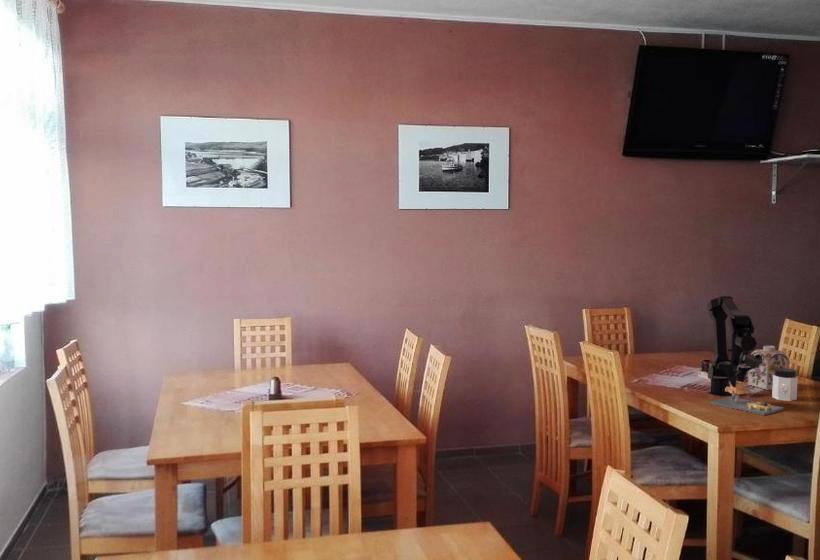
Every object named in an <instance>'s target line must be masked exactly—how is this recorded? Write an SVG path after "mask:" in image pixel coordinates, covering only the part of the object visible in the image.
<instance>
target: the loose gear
mask: <svg viewBox="0 0 820 560" xmlns="http://www.w3.org/2000/svg"><path fill="white" fill-rule="evenodd" d="M750 390H751V389H749V388H746V387H745V382H739V381H738V380H736V386H735V387H732V385H731V384H730V387H726V388H725V391H726V392H729V393H731V394H732V393H735V394H739V395H745V394H746V395H749V394H750V392H751V391H750Z"/></svg>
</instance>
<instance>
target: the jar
mask: <svg viewBox="0 0 820 560" xmlns="http://www.w3.org/2000/svg"><path fill="white" fill-rule="evenodd" d="M797 371H798V370H797V369H794V368H790V367H789V368H775V369H774V375H773V387H772V390H771V391H772V392H771V393H772V394H771V397H772V398H773V399H775V400H777V401H786V402H793V400H794V401H797V398H798V397H797V396H798V380H799V379H798V378H799V377H798V376H797V374H798V373H797Z"/></svg>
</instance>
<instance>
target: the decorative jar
mask: <svg viewBox="0 0 820 560" xmlns="http://www.w3.org/2000/svg"><path fill="white" fill-rule="evenodd" d="M750 354H751V355H754V356H755V355H757V354H760V355H762V362H763V363H762V364H760V366H759V368H755V369H752V370H750V371H748V372H747V386H750V385H752V386H751V387H753V386H755V387H754V388H757V387H759V388H758V389H760V388H762V389H761V390H764V389H765V391H772V387H773V375H774V369H775V368H789V369H790V367H789V366H790V359H789V357H788V356H787V355H786V353H784V351H782V350H777V349H776V346H774V345H764V346H763V348H760V349H758V348H757V349H754V351H753V350H752V351H751V353H750ZM749 368H750V367H749Z"/></svg>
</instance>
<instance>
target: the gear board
mask: <svg viewBox="0 0 820 560" xmlns="http://www.w3.org/2000/svg"><path fill="white" fill-rule="evenodd" d="M710 405H713V406H714V405H715V406H718V405H719V407H723V406H724V407H723V408H727V407H729V409H732V408H734V409H733V410H736V409H739V410H738V411H741V410H743V411H742V412H746V411H748V412H747V413H750V412H752V413H751V414H755V413H756V415H759V414H760V415H759V416H768V415H771V414H775V413H778V412H782V411H785V407H782V406H778V405H773V404H770V403H768V400H765V399H764V400H763V401H753V400H749V399H744V398H740V394H735V393H731V396H728V397H724V398H723V397H722V398H718V399H715V400H714V399H713V400H711V401H710Z"/></svg>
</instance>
